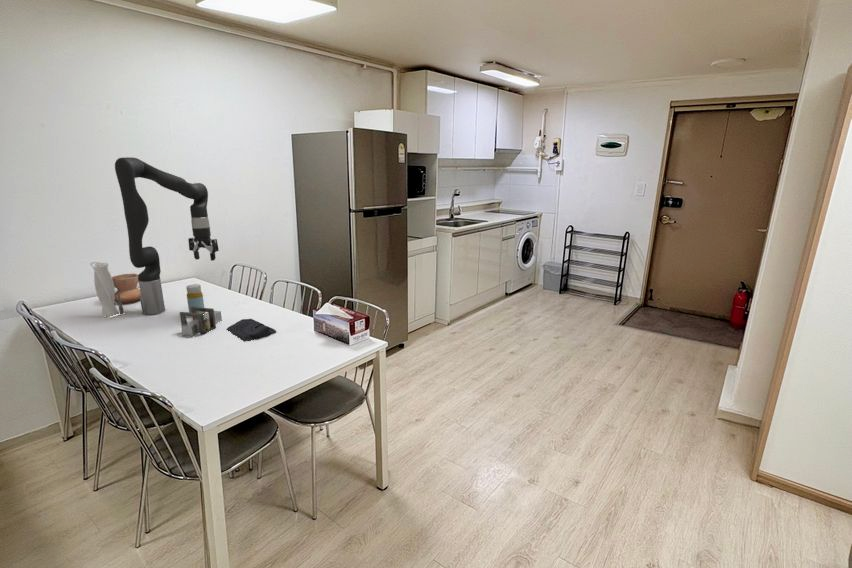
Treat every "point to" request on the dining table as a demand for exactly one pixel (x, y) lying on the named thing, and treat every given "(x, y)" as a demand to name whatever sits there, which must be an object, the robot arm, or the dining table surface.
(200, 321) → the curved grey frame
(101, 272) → the skyscraper
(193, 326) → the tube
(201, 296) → the bottle
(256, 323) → the dark slate chunk
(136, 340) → the dining table surface
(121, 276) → the ceramic jug
